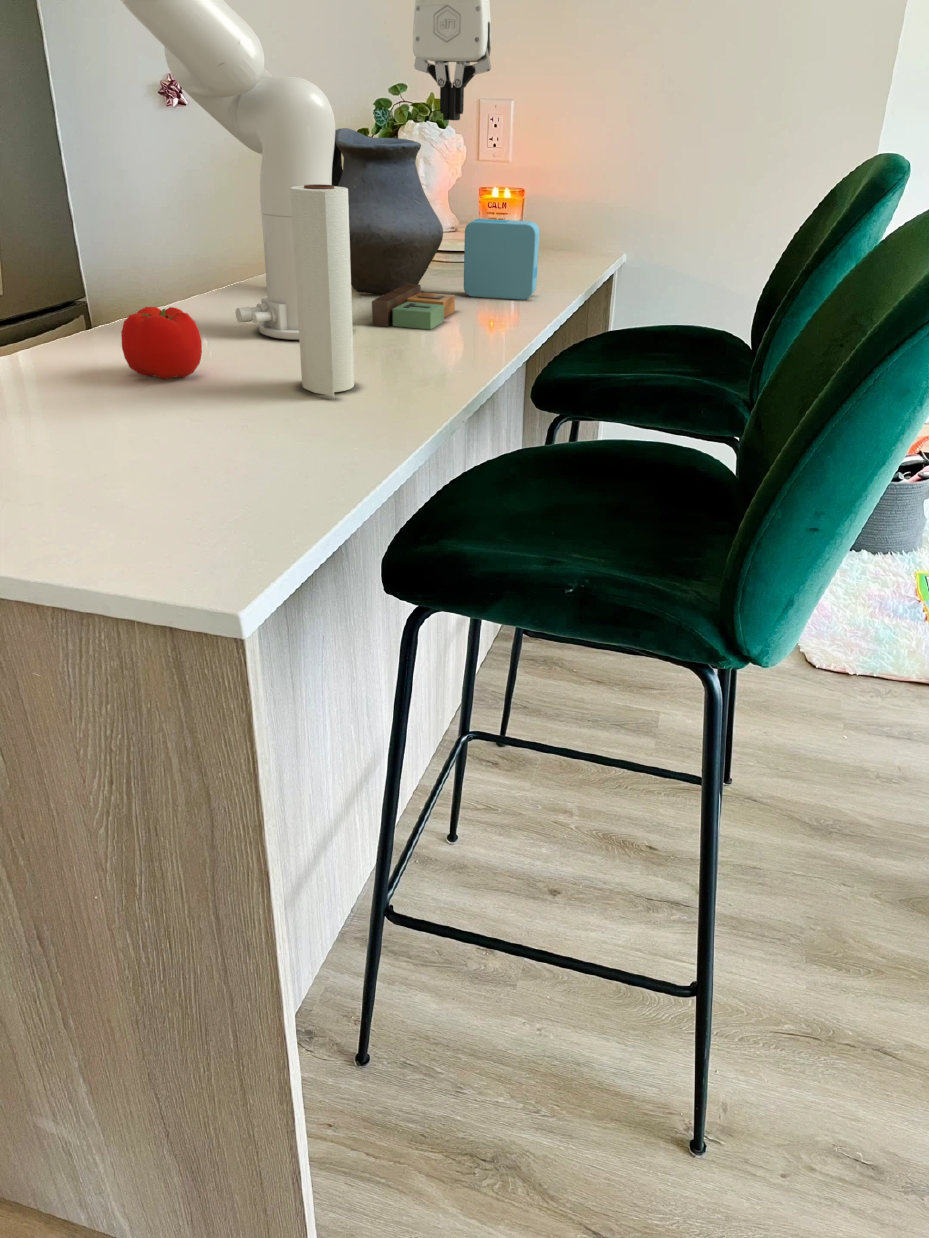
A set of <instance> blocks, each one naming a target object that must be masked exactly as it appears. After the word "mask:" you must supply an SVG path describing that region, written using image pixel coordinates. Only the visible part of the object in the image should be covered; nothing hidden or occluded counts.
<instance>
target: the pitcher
mask: <svg viewBox="0 0 929 1238" xmlns="http://www.w3.org/2000/svg"><path fill="white" fill-rule="evenodd" d="M421 147H422V144H421V143H420V142H418V141H414V140H411V139H407V138H395V137H394V138H393V137H372V136H367V135H365V134H364V133H360V132H358V131H356V130H354V129H351V128H348V127H347V128H346V127H343V128H342V127H341V128H337V129H335V144H334V154H333V163H332V185H333V186H336V187H345V188H347V189H348V205H349V236H350V267H351V288H353V289H354V290H355V291H356V292H357V293H365V294H370V295H376V296H378V295H379V296H383V295H385V294H387V293H389V292H391V291H393V290H395V289H397V288H399V287H401V286H403V285H405V284H419V285H420V281H421V280H422V278H423V277H424V275H425V274H426V271H427V270H428V269H429V266H430V264H431V263H432V261H433V259H434V258H435V256H436V255H437V252H438V250H439V248H440V247H441V244H442V242H443V237H444V227H443V225H442V222H441V221H440V219H439V217H438V215H437V214H436V212H435V210H434V209H433V207H432V205H431V203H430V201H429V199H428V197H427V195H426V193H425V190H424V188H423V186H422V185H423V184H422V181H421V178H420V176H419V171H418V168H417V164H416V160H417V156H418V153H419V151H420V150H421ZM342 158H343V159H342Z"/></svg>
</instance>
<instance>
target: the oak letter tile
mask: <svg viewBox="0 0 929 1238" xmlns="http://www.w3.org/2000/svg"><path fill="white" fill-rule="evenodd" d="M407 302H415V303H426V304H438V305H444V319H445V318H447V317H448V316H450V315H452V314H453V313H455V311H456V295H455V294H443V293H431V292H430V293H429V292H421V293H420V292H419V293H417V294H415V295H413V296H411V297H410V298H408V299H407Z"/></svg>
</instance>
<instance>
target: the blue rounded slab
mask: <svg viewBox="0 0 929 1238" xmlns="http://www.w3.org/2000/svg"><path fill="white" fill-rule="evenodd" d="M540 234H541V233H540V227H539V226H538V224H537V223H536V222H534V221H530V220H512V219H511V220H510V219H492V218H490V219H489V218H476V219H474V220H472V221H470V222H468V223H467V225H466V226H465V229H464V247H463V248H464V249H463V251H464V252H463V290H464V292H465V294H466V295H468V296H469V297H472V298H473V297H474V298H488V299H502V300H516V301H517V300H518V301H526V300H528V299H529V298H531V297H532V295H533V294H534V293H535V292H536V290H537V282H538V266H539V265H538V264H539V250H540Z"/></svg>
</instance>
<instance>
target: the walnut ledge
mask: <svg viewBox="0 0 929 1238" xmlns="http://www.w3.org/2000/svg"><path fill="white" fill-rule="evenodd" d="M421 287H422V286H421V284H420V283H419V284H405V285H403V286H401V287H399V288H397V289H395V290H393V291H391V292H389V293H387V294H385V295H380V296H379V297H377V298H375V299H373V300H371V319H372V326H373V327H374V326H375V327H389V326H391V325H393V308H395V307H397V306H400V305H402V304H404V303H406V302H407V299H408V298H410V297H411V296H413V295H415V294H417V293H419V292H420V293H422V291H421V289H422V288H421Z"/></svg>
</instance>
